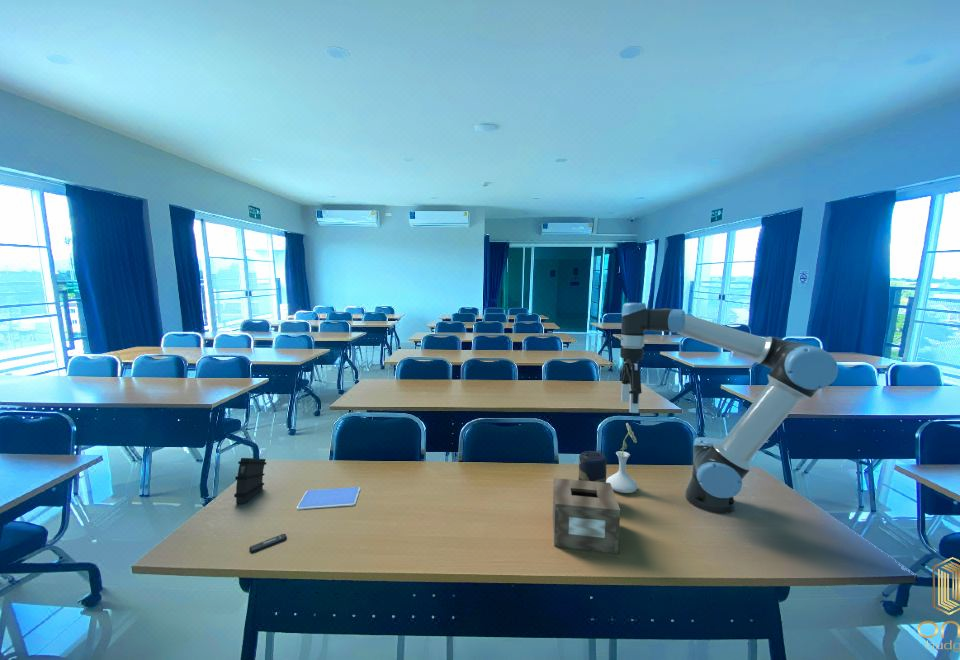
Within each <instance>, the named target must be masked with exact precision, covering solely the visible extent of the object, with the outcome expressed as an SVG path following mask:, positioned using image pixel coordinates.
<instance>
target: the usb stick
mask: <svg viewBox="0 0 960 660" xmlns="http://www.w3.org/2000/svg"><path fill="white" fill-rule="evenodd" d="M287 538H288V537H287V534H286V533H281V534H279V535H277V536H273V537H271V538H268V539H266V540H264V541H261V542H259V543H256V544H255V543H254V544H253V545H250V546H249V547H248V548H249V551H250V553H251V554H254V553H257V552H258V551H262V550H264V549H266V548H269V547H271V546H274V545H276V544H279V543H282V542H284V541H286V540H287Z"/></svg>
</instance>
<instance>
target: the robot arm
mask: <svg viewBox="0 0 960 660" xmlns="http://www.w3.org/2000/svg"><path fill="white" fill-rule="evenodd" d="M620 331H621V334H620V335H621V336H620V337H619V338H618V339H619V341H620V346H621V347H620V349H619V350H620V353H619V355H620V356H619V357H620V358H621V359H623V363H622V368H621V370H622V371H621V375H620V381H621V398H620V402H621V403H623V402H624V403H629V413H632V414H638V413H639V412H640V411H639V409H640V408H639V407H640V395H641V394H642V392H643V391H642V382H641V381H642V380H641V363H638V360H643V359H644V352H645V351H644V348H643V347H645V331H646V332H648V331H650V332H653V331H654V332H668V333H675V334H677V335H681V336H684V337H687V338H688V339H689V338H690V339H693V340H697V341H699V342H702V343H705V344H708V345H711V346H713V347H717V348H720V349H723V350H726V351H729V352H732V353H735V354H739V355H742V356H745V357H747V358H750V359H753V360H755V362H756V363H757V364H759V365H761V366H762V365H763V367H764V366H765V367H767V368H769V369H771V370H770V371H769V372H768V374H767V380H768V383H767V384H766V386H765V387H764V388H763V389H762V391H761V392H760V393H759V394H758V396H757V397H756V399H755V400H753V402H752V403H751V405H750V406H749V407H748V409H747V410H745V412H744V414H742V416H741V417H740V419H739V420H738V421H737V422H736V423H735V425H734V426H733V427H732V428H731V429H730V431H729V432H728V434H727V435H726V437H724V438H723V439H718V438H714V437H707V436H706V437H704V436H700V437H699V436H698V437H696V438H695V439H694V441H693V445H692V446H693V459H692V471H691V473H692V475H691V478H690V481H689V483H688V485H687V487H686V490H685V499H686V501H688V502H689V503H690V504H691V505H693V506H695V507H696V508H698V509H701V510H704V511H706V512H710V513H716V514H730V513H733V512H734V511H735V509H736V501H735V498H734V497H736V496H737V495H738V494H739V493H740V492H741V490H742V486H743V479H744V478H745V476H747V474H748V473H749V472H750V471H751V470H752V469H751V464H750V461H751V460H752V459H753V457H754V456H755V455H756V454H757V453H758V452H759V450H760V449H761V448H762V447H763V446H764V444H765V443H766V442H767V441H768V439H769V438H770V437H771V436H772V435H773V433H774V432H775V431H777V428H778V427H779V426H780V425H781V424H782V423H783V422H784V420H786V418H787V417H788V415H790V413H791V412H792V411H793V409H794V408H795V407H796V406H797V405H798V404H799V402H800V401H802V400H808V399H809V400H810V399H811V398H812V397H813V396H814V395H815V394H816V393H817V391H818V390H820V389H823V388H826V387H829V386H830V385H831V384H832V383H834V382H835V381H836V379H837V377H838V373H839V366H838V363H837V361H836V359H835V358H834V357H833V355H832V354H831V353H829V352H828V351H826V350H824V349H823V348H821V347H818V346H816V345H809V344H806V343H805V342H804V343H803V342H797V341H790V340H785V339H780V338H776V337H774V336H768V337H767V336H766V337H763V336H759V335H755V334H752V333H749V332H746V331H742V330H740V329H736V328H733V327H729V326H727V325H723V324H720V323H716V322H714V321H710V320H707V319H704V318H701V317H696V316H694V315H690V314H687V313H686V312H685V310H683V309H676V308H667V307H663V308H647V305H646V303H645V302H626V303H624V304H623V305H622V310H621V330H620Z"/></svg>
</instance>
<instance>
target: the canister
mask: <svg viewBox="0 0 960 660" xmlns="http://www.w3.org/2000/svg"><path fill="white" fill-rule="evenodd" d="M578 459H579V460H578V480H582V481H594V482H605V483H606V480H607V457H606V455H604V454H603V453H601V452H598V451H595V450H594V451H593V450H586V451H583V452H581V453H580V454H579V457H578Z"/></svg>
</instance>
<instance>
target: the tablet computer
mask: <svg viewBox="0 0 960 660" xmlns="http://www.w3.org/2000/svg"><path fill="white" fill-rule="evenodd" d="M360 490H361V487H360V486H353V487H352V486H351V487H349V486H348V487H339V488H337V487H336V488H321V489H309V490H306V491H305V493H304V494H303V496H302V498H301V500H300V501H299V503H298V505H297V506H296V510H297V511H301V510H311V509H312V510H313V509H324V508H325V509H326V508H338V507H339V508H340V507H353V506H356V503H357V501H358V498H359V495H360Z"/></svg>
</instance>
